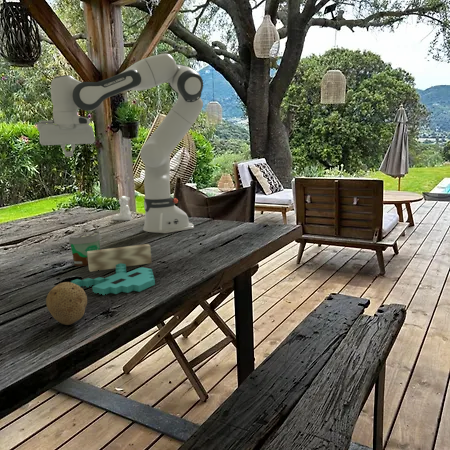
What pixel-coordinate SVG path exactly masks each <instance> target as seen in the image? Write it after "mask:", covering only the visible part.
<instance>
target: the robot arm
mask: <svg viewBox="0 0 450 450" xmlns="http://www.w3.org/2000/svg"><path fill="white" fill-rule="evenodd" d="M166 83H167V84H168V85H169V87H170V88H171V89H173V91H175V92H176V93H178V95H177V100H176V101H175V104H174V105H173V106H172V107H171V109H170V110H169V111H168V113H167V115H166V116H165V117H164V119H163V120H162V121H161V123H160V124H159V125H158V127H156V129H155V130H154V131H153V133H151V135H150V137H148V139H147V140H146V142H144V144H143V145H142V146H141V149H140V159H141V162H143V164H144V177H143V182H144V183H143V184H144V199H143V200H144V202H143V204H144V205H143V206H144V211H145V213H144V215H145V217H144V222H143V223H144V224H143V227H142V229H143V231H144V232H147V233H148V232H149V233H160V234H168V233H175V232H180V231H186V230H191V229H194V228H195V224H193V223H192V222H190V221H189V217H188V214H187V213H186V212H185V211H184V210H183V209H181V208H179V206H176V205H175V204H178V203H179V200H178V198H176V197H175V198H174V197H173V196H172V197H171V182H170V179H171V177H170V176H171V175H170V174H171V160H170V159H171V154H172V153H173V152H174V150H175V149H176V148H177V146H178V145H179V143H180V142H181V141H182V140H183V139H184V137H185V136H186V135H187V133H188V132H189V130H190V129H191V128H192V127H193V125H194V124H195V122H196V121H197V119H198V117H199V115H200V114H201V111H202V110H203V108H204V101H203V100H202V98H201V96H202V92H203V89H204V81H203V78H202V75H200V73H199V72H198V71H196V70H195V69H193V68H191V67H189V66H186V65H183V64H180V63H177V62H176V61H175V58H174V57H173V56H172V55H171V54H169V53H166V52H165V53H160V54H155V55H151V56H149V57H145V58H143V59H140V60H138V61H136V62H134V63H133V64H132V65H130V66H128V67H127V68H126V69H125V70H123V71H122V72H120V73H118V74H116V75H113V76H110V77H109V78H106V79H103V80H99V81H95V82H94V81H80V80H78V79H76V78H74V77H73V76H72V75H67V74H66V75H59V76H56V77H54V78H53V79H52V80H51V83H50V95H51V96H50V98H51V103H52V105H53V106H52V116H53V119H50V120H45V119H44V120H40V121H38V122H37V124H36V127H37V131H38V132H39V144H40V145H41V146H58V145H59V146H60V148H61V149H62V151H63V153H64V157H73V156H74V151H75V149H76V145H84V144H85V145H86V144H87V145H88V144H89V145H90V144H94V143H96V137H95V132H94V129H93V127H92V125H91V120H90V118H87V117H84V116H82V115H78V110H82V111H85V112H86V111H88V112H90V111H91V112H92V111H94V110H96V109H98V108H99V106H100V105H101V104H102V102H104V101H105V100H106V99H109V98H111V97H113V96H116V95H118V94H121V93H123V92H126V91H137V92H141V91H146V90H149V89H152V88H155V87H157V86H160V85H161V84H166ZM66 145H70V148H71V150H70V151H67V150H66V149H65V148H66Z"/></svg>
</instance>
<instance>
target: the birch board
mask: <svg viewBox="0 0 450 450" xmlns="http://www.w3.org/2000/svg"><path fill="white" fill-rule="evenodd" d="M151 248H152V247H151V245H150V244H149V243H144V244H143V243H142V244H134V245H128V246H127V245H126V246H120V247H112V248H104V249H103V248H102V249H100V250H94V251H87V255H88V266H87V267H88V271H89V272H97V271H98V270H99V271H106V270H111V269H113V270H114V269H116V265H117V264H120V263H123V264H126V268H127V267H132V266H133V267H134V266H139V265H147V264H152V251H151ZM99 271H98V272H99Z"/></svg>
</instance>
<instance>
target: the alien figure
mask: <svg viewBox="0 0 450 450" xmlns="http://www.w3.org/2000/svg"><path fill="white" fill-rule="evenodd" d="M155 280H156V279H155V276H154V272H153V269H152V268H147V267H142V266H141V267H138V268H135V269H133V270H131V271H128V272H127V267H126V264H123V263H120V264H117V265H116V268H115V273H114V274H112V275H109V276H106V277H105V278H104V277H101V276H98V277H96V278H90V277H87V278H84V279H79V278H76V279H72V280H70V282H71V283H74V284H76V285H78V286H80V287H81V286H82V287H84V286H86V287H85V288H90V287H92V293H93V292H94V293H93V294H97V293H99V294H98V295H101V294H102V296H106V295H108V294H114V295H117V294H120V293H122V292H123V293H127V294H128V293H131V292H139V293H140V292H142V291H144V290H146V289H148V288H150V287H153V286H156V281H155ZM92 285H93V286H92ZM89 286H90V287H89ZM82 287H81V288H82ZM105 294H106V295H105Z"/></svg>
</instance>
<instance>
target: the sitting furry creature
mask: <svg viewBox="0 0 450 450" xmlns="http://www.w3.org/2000/svg"><path fill="white" fill-rule="evenodd" d="M130 200H131V197H127V196H126V195H122V196H120V197H119V199H118V204H119V205H120V208H119V214H114V215H113V216H112V220H113V221H123V222H125V221H126V222H127V221H130V220H131V219H132V217H133V215H132V212H131V211H130V207H129V205H128V203H129V201H130Z"/></svg>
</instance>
